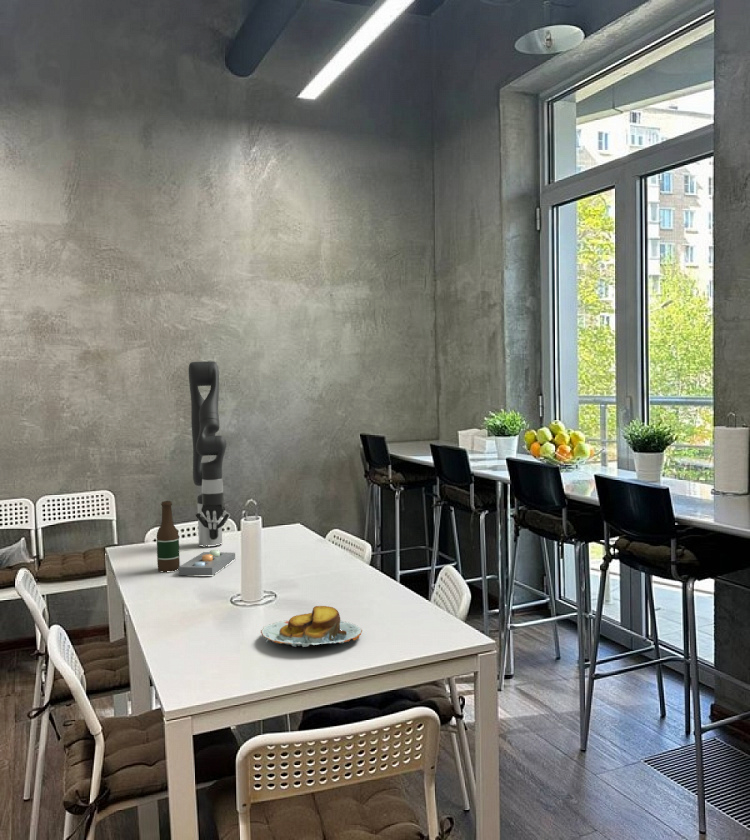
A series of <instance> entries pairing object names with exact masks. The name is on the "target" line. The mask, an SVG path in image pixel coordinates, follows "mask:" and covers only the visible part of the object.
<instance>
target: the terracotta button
mask: <svg viewBox="0 0 750 840" xmlns="http://www.w3.org/2000/svg"><path fill="white" fill-rule="evenodd" d="M212 560H213V555H211V554H206V555H202V561H212Z"/></svg>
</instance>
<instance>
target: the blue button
mask: <svg viewBox="0 0 750 840" xmlns="http://www.w3.org/2000/svg"><path fill="white" fill-rule="evenodd" d="M194 566H205V562H195V563H194Z"/></svg>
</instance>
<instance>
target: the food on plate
mask: <svg viewBox="0 0 750 840" xmlns="http://www.w3.org/2000/svg"><path fill="white" fill-rule="evenodd" d="M340 629H341V630H342V631H341V630H340ZM362 632H363V629H362V628H361V627H360V626H359V625H356V624H355V623H351V622H347V621H344V620H341V615H340V613H339V611H338V609H337V608H335V607H332V606H327V605H316V606H315V605H314V607H313V608H312V610H311V612H309V613H302V614H296V615H294V616H291V617H290V619H288V620H280V621H275V622H273V623H272V624H271V623H270V624H268V625H265V626H263V627H262V628H261V630H260V634H261V635H262V636H263V637H264V638H266V641H265V643H268V641H272V642H273V643H275V644H279V645H281V644H285V645H288V646H289V645H291V647H295V648H296V647H297V646H298V647H300V646H302V648H304V647H305V648H306V647H310V645H313V646H315V645H316V646H317V645H320V644H321V645H323V644H328V645H330V644H333V645H334V644H338V643H339V644H344V643H347V642H350V641H351V640H352V641H356V640H359V639H360V636H362Z"/></svg>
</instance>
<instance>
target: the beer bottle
mask: <svg viewBox="0 0 750 840" xmlns="http://www.w3.org/2000/svg"><path fill="white" fill-rule="evenodd" d="M160 506H161V521H160V522H161V523H160V526H159V528H158V529H157V531H156V556H157V557H156V561H157V564H156V565H157V570H158V572H159V571H163V572H162V573H165V572H166V573H168V572H167V571H174V572H176V571H175V570H177V569H178V567H179V566H181V565H180V563H181V561H180V559H181V558H180V537H179V531H178V529H177V528H176V526H175V525H174V519H173V509H172V506H173V503H172V501H170V500H165V501H162V502H161V503H160ZM177 571H178V570H177Z"/></svg>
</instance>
